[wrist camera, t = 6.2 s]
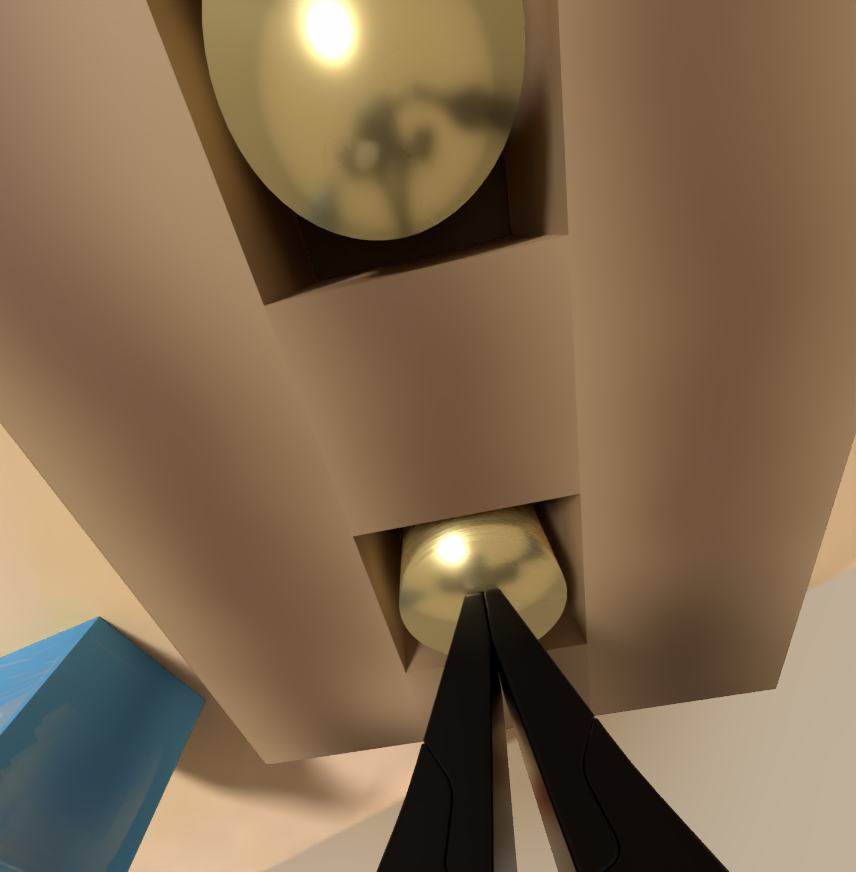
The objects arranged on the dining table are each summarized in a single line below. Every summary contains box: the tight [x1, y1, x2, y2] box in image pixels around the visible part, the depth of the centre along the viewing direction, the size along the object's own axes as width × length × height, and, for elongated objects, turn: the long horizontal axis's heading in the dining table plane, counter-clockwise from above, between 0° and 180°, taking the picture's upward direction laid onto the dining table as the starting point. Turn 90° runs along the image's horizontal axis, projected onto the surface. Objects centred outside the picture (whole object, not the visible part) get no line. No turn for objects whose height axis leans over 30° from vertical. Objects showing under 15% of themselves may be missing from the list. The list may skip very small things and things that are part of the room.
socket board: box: [0, 0, 856, 765], centre depth 9 cm, size 16×22×4 cm
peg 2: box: [399, 503, 567, 655], centre depth 11 cm, size 4×4×4 cm
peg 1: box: [202, 0, 526, 240], centre depth 7 cm, size 4×4×4 cm
